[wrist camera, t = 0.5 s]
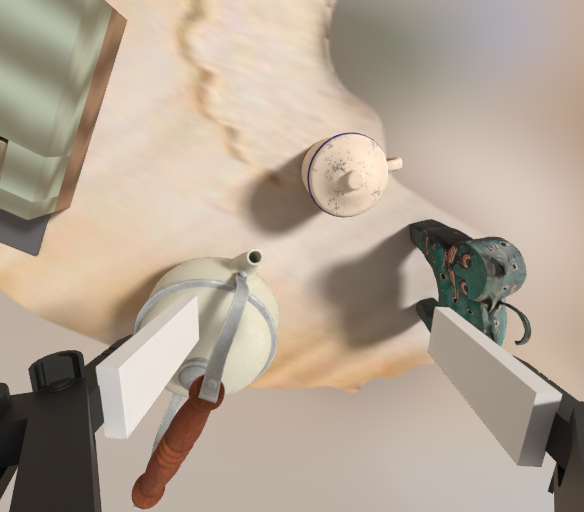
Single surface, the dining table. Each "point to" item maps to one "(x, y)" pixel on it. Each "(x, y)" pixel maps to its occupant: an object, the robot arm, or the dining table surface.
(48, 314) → the dining table surface
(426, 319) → the ceramic cat
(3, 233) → the rubber mat
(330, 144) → the teacup with lid
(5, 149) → the wooden block
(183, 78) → the dining table surface
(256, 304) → the kettle
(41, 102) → the green block with hole
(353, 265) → the dining table surface
